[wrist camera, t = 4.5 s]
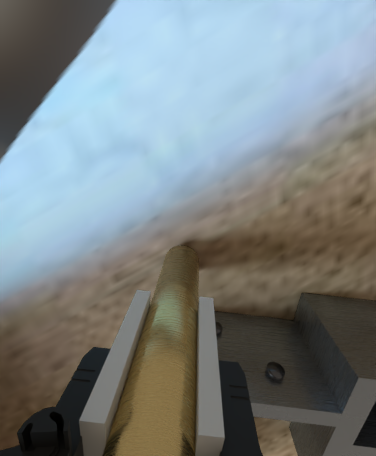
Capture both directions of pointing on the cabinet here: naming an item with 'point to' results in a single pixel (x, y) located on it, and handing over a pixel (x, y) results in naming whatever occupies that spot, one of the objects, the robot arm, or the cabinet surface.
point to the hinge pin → (163, 369)
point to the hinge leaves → (311, 371)
